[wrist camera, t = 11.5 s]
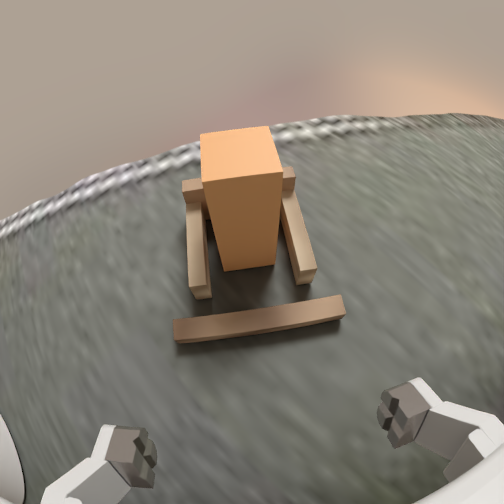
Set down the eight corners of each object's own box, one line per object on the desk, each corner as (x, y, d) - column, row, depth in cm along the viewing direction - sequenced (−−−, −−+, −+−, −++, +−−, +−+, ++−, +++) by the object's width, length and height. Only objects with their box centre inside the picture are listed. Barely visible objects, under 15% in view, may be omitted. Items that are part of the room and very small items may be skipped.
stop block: (224, 271, 22) (201, 182, 13) (219, 229, 24) (200, 134, 15) (275, 264, 22) (283, 171, 14) (266, 222, 24) (268, 125, 15)
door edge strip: (178, 343, 19) (174, 340, 18) (177, 324, 20) (172, 319, 19) (341, 318, 20) (345, 313, 19) (336, 300, 21) (340, 294, 20)
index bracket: (196, 299, 21) (183, 277, 17) (191, 211, 25) (182, 180, 22) (311, 282, 21) (321, 257, 18) (288, 198, 25) (292, 166, 22)
